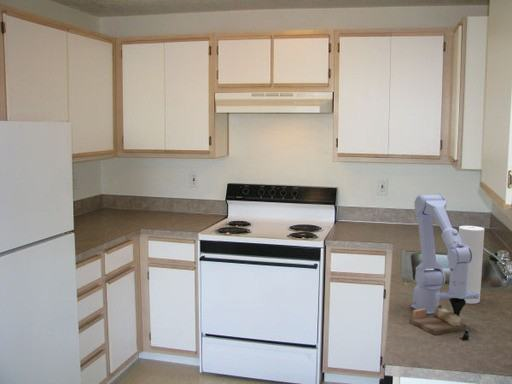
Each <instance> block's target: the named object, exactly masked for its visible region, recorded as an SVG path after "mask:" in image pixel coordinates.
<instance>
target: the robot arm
mask: <svg viewBox="0 0 512 384" xmlns="http://www.w3.org/2000/svg"><path fill="white" fill-rule="evenodd" d="M413 203H414V212H415V217H416V218H417V222H418V225H417V226H418V234H419V244H420V253H421V255H420V256H421V262H420V263H419V264H418V265H417V266H416V267H415V276H414V280H415V284H416V285H415V287H414V289H413V292H412V293H413V295H412V304H411V305H410V307H411V308H413V309H414V310H418V309H423V308H424V309H427V311H426V315H431V314H435V306H438V305H440V300H449V302H450V304H451V307H452V310H453V313H454V314H456V315H458V316H460V313H461V312H462V309H464V307H465V305H466V304H467V303H466V301H465V300H464V299H479V294H478V293H477V292H466V290H467V273H468V263H470V262H471V260H472V252H471V249H470V248H469V247H468V246H466V244H463V242H462V240H461V238H460V236H459V230H458V229H456V228H454V227H453V226H452V224H451V222H450V218H449V215H448V213H447V210H446V209H447V201H446V198H445V196H444V195H443V194H440V193H439V194H418V195H417V196H416V198H415V200H414V202H413ZM434 219H435V221H436V223H437V224H438V226H439V227H440V229H441V232H442V233H441V234H440V236H441V239H442V241H443V243H444V245H445V247H446V249H447V254H446V256H447V261H448V268H449V283H448V291H442V292H440V291H441V289H442V288H443V287H442V286H444V285H445V283H446V274H445V272H444V267H443V265H442V264H440V263H439V262H438V261H437V253H436V245H435V244H436V243H435V235H434V234H435V233H434V226H433V225H434V224H433V221H434Z"/></svg>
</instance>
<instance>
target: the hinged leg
mask: <svg viewBox="0 0 512 384" xmlns="http://www.w3.org/2000/svg"><path fill="white" fill-rule="evenodd" d="M434 314H435V316H436V317H439V318H440V319H442V320H444V321H446V322H448V323H450V324H451V325H453V326H458V325H460V322H461V318H462V317H461V316H460V315H459V316H458V315H456V314H454V312H452V311H450V310H449V309H446V308H445V307H444V306H442V305H440V304H439V305H438V306H435V313H434Z"/></svg>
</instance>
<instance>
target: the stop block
mask: <svg viewBox="0 0 512 384" xmlns="http://www.w3.org/2000/svg"><path fill="white" fill-rule="evenodd" d="M426 311H427V309H424V308H423V309H418V310H417V309H413V310H412V318H414V319H418V318H423V317H426V315H427V314H426Z"/></svg>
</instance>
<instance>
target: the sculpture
mask: <svg viewBox="0 0 512 384" xmlns="http://www.w3.org/2000/svg"><path fill="white" fill-rule="evenodd" d="M463 331H464V333H463V335H462V337H459V339H460V340H461V341H463V342H470V341H471V339H469V337H470V334H469V329H465V330H463Z"/></svg>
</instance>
